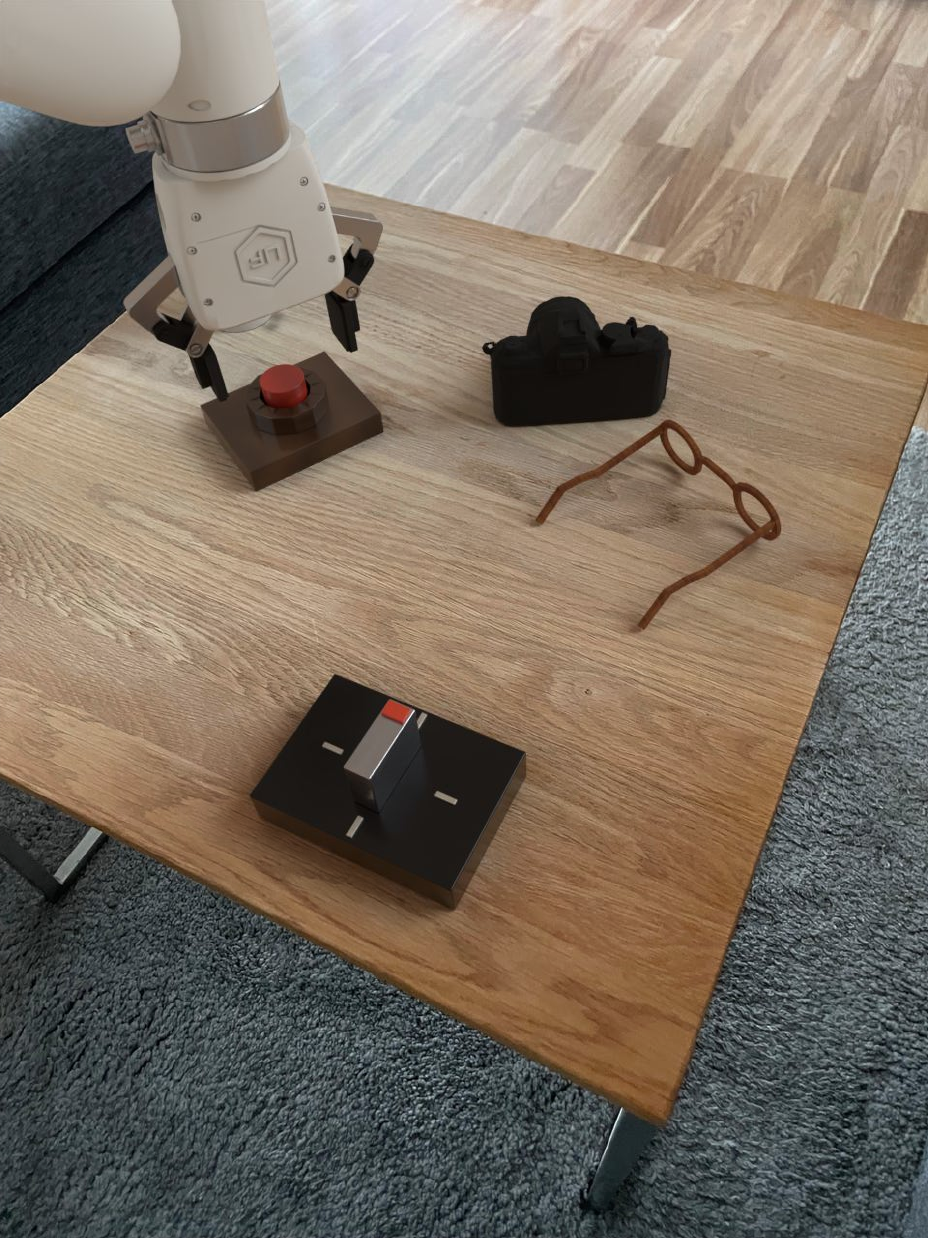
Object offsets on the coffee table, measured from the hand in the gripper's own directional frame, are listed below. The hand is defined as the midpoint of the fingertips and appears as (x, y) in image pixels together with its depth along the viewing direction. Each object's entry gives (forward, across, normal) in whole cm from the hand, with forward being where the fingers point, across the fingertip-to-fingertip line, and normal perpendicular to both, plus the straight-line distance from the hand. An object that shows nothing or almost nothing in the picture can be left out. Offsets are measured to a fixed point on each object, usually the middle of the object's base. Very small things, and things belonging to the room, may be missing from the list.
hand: (282, 365), depth 71 cm
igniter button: (+10, +2, +9) cm, 13 cm away
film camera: (+13, +24, 0) cm, 28 cm away
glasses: (+13, +20, -17) cm, 30 cm away
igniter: (+13, +2, +8) cm, 16 cm away
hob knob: (+10, -6, -27) cm, 30 cm away
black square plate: (+13, -6, -27) cm, 31 cm away
